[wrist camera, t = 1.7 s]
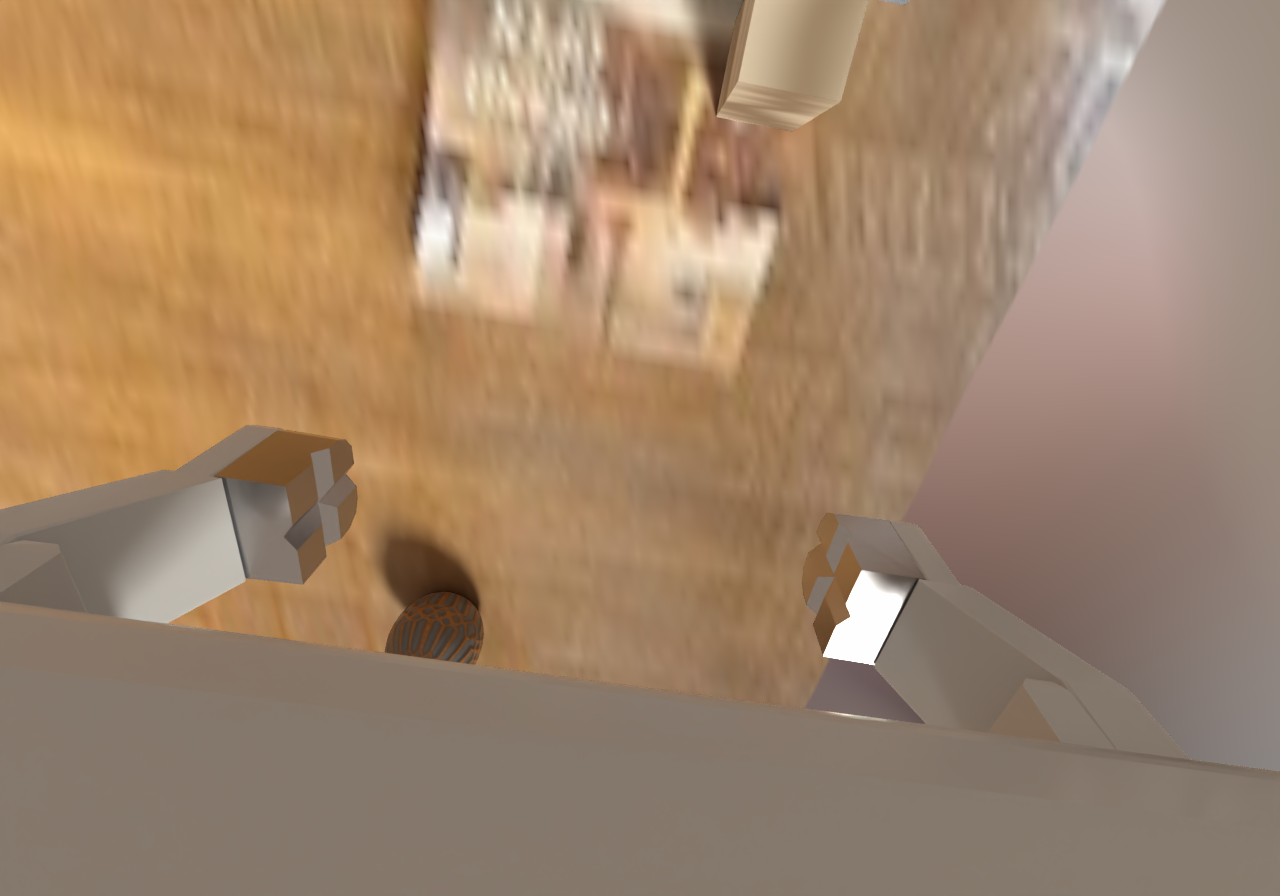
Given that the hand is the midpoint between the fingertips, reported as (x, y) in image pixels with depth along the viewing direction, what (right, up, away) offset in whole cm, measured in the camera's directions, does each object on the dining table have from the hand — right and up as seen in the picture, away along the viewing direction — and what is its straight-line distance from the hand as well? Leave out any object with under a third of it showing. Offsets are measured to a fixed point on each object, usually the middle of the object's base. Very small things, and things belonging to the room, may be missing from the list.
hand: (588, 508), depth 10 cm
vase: (-15, -13, +37) cm, 41 cm away
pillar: (+8, +22, +21) cm, 32 cm away
